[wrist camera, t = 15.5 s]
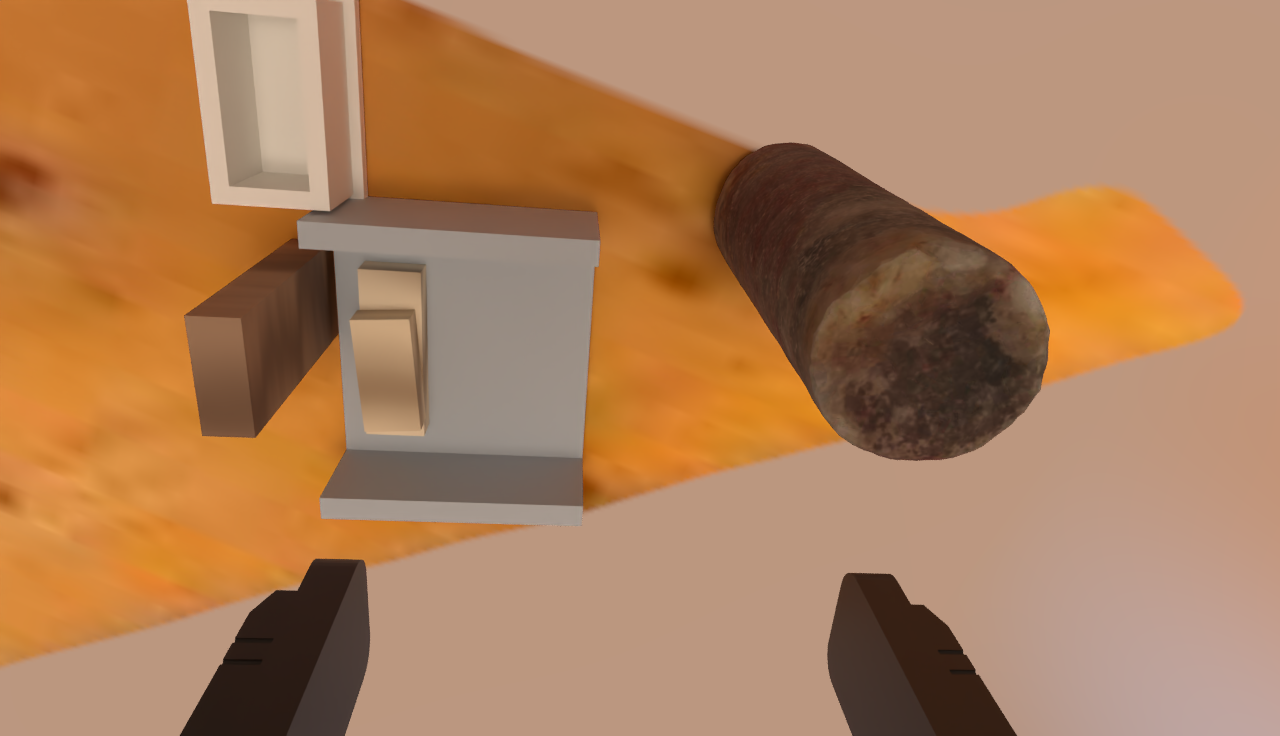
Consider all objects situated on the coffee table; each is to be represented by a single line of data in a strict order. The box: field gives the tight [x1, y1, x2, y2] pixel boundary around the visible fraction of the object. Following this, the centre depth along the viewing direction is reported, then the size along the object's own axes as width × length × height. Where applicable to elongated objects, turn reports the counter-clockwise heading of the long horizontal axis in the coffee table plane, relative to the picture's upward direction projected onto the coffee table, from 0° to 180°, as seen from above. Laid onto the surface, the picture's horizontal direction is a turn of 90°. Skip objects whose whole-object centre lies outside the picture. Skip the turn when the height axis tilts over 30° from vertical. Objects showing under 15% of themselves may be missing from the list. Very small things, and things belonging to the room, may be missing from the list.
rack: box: [297, 196, 600, 526], centre depth 40 cm, size 15×13×6 cm
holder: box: [187, 0, 368, 211], centre depth 35 cm, size 10×6×5 cm, turn 175°
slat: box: [184, 239, 339, 438], centre depth 36 cm, size 5×2×12 cm, turn 176°
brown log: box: [714, 143, 1050, 461], centre depth 32 cm, size 8×7×20 cm
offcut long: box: [357, 261, 429, 436], centre depth 41 cm, size 9×3×2 cm, turn 175°
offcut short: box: [349, 309, 426, 432], centre depth 40 cm, size 6×3×2 cm, turn 179°
